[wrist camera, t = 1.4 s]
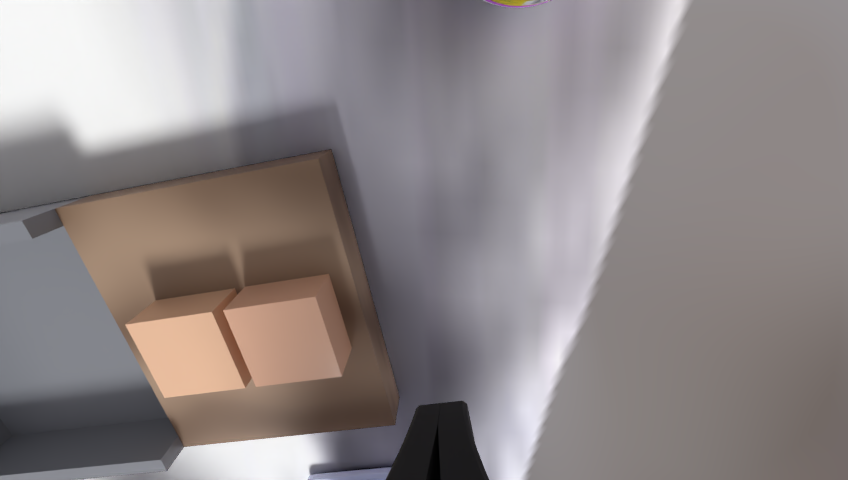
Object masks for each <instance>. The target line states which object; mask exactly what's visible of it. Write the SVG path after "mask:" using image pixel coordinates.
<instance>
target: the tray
mask: <svg viewBox="0 0 848 480" xmlns="http://www.w3.org/2000/svg"><path fill="white" fill-rule="evenodd" d="M86 197H88V196H86ZM86 197H81V198H76V199H70V200H65V201H60V202H55V203H50V204H44V205H39V206H34V207H29V208H24V209H18V210H13V211H8V212H3V213H0V480H77V479H88V478H98V477H109V476H119V475H129V474H140V473H150V472H161V471H167V470H168V469H169V467H170V466H171V465H172V463H173V462H174V460H175V459H176V457H177V456H178V455H179V453H180V452H181V450H182V449H183V447H184V446H183V444H182V442H181V440H180V439H179V437H178V435H177V433H176V431H175V429H174V428H173V426H172V424H171V422H170V420H169V418H168V417H167V415H166V413H165V411H164V409H163V407H162V406H161V404H160V402H159V400H158V398H157V396H156V395H155V393H154V391H153V389H152V387H151V385H150V383H149V382H148V380H147V378H146V376H145V374H144V372H143V371H142V369H141V367H140V365H139V363H138V361H137V360H136V358H135V356H134V354H133V352H132V350H131V349H130V347H129V345H128V343H127V341H126V339H125V338H124V336H123V334H122V332H121V330H120V328H119V327H118V325H117V323H116V321H115V319H114V317H113V316H112V314H111V312H110V310H109V308H108V306H107V305H106V303H105V301H104V299H103V297H102V295H101V294H100V292H99V290H98V288H97V286H96V284H95V283H94V281H93V279H92V277H91V275H90V273H89V271H88V270H87V268H86V266H85V264H84V262H83V260H82V259H81V257H80V255H79V253H78V251H77V249H76V248H75V246H74V244H73V242H72V240H71V238H70V237H69V235H68V233H67V231H66V229H65V227H64V226H63V224H62V222H61V220H60V218H59V216H58V215H57V213H56V211H55V208H58V207H61V206H63V205H66V204H69V203H72V202H74V201H77V200H80V199H83V198H86Z"/></svg>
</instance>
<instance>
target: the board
mask: <svg viewBox="0 0 848 480" xmlns="http://www.w3.org/2000/svg"><path fill="white" fill-rule="evenodd" d="M55 211H56V213H57V215H58V216H59V218H60V220H61V222H62V224H63V226H64V227H65V229H66V231H67V233H68V235H69V237H70V238H71V240H72V242H73V244H74V246H75V248H76V249H77V251H78V253H79V255H80V257H81V259H82V260H83V262H84V264H85V266H86V268H87V270H88V271H89V273H90V275H91V277H92V279H93V281H94V283H95V284H96V286H97V288H98V290H99V292H100V294H101V295H102V297H103V299H104V301H105V303H106V305H107V306H108V308H109V310H110V312H111V314H112V316H113V317H114V319H115V321H116V323H117V325H118V327H119V328H120V330H121V332H122V334H123V336H124V338H125V339H126V341H127V343H128V345H129V347H130V349H131V350H132V352H133V354H134V356H135V358H136V360H137V361H138V363H139V365H140V367H141V369H142V371H143V372H144V374H145V376H146V378H147V380H148V382H149V383H150V385H151V387H152V389H153V391H154V393H155V395H156V396H157V398H158V400H159V402H160V404H161V406H162V407H163V409H164V411H165V413H166V415H167V417H168V418H169V420H170V422H171V424H172V426H173V428H174V429H175V431H176V433H177V435H178V437H179V439H180V440H181V442H182V444H183V446H184V447H187V446H197V445H206V444H216V443H226V442H235V441H245V440H255V439H264V438H274V437H284V436H293V435H303V434H313V433H322V432H332V431H342V430H351V429H361V428H371V427H380V426H390V425H395V423H396V416H397V410H398V403H399V393H398V390H397V386H396V382H395V379H394V375H393V371H392V368H391V364H390V361H389V357H388V353H387V350H386V346H385V342H384V339H383V335H382V331H381V328H380V324H379V321H378V317H377V313H376V310H375V306H374V302H373V299H372V295H371V291H370V288H369V284H368V281H367V277H366V273H365V270H364V266H363V262H362V259H361V255H360V251H359V248H358V244H357V240H356V237H355V233H354V230H353V226H352V222H351V219H350V215H349V211H348V208H347V204H346V200H345V197H344V193H343V190H342V186H341V182H340V179H339V175H338V171H337V168H336V164H335V160H334V157H333V153H332V150H331V149H330V150H325V151H320V152H315V153H309V154H304V155H299V156H294V157H289V158H283V159H278V160H273V161H268V162H263V163H257V164H252V165H247V166H242V167H237V168H232V169H226V170H221V171H216V172H211V173H206V174H200V175H195V176H190V177H185V178H180V179H174V180H169V181H164V182H159V183H154V184H148V185H143V186H138V187H133V188H128V189H122V190H117V191H112V192H107V193H102V194H96V195H91V196H88V197H86V198H83V199H80V200H77V201H74V202H72V203H69V204H66V205H63V206H61V207H58V208H55ZM325 274H329V276H330V279H331V282H332V286H333V289H334V292H335V295H336V298H337V302H338V305H339V308H340V311H341V315H342V318H343V321H344V324H345V327H346V331H347V334H348V337H349V340H350V343H351V347H352V349H351V352H350V355H349V358H348V361H347V363H346V366H345V369H344V372H343V375H342V377H334V378H326V379H318V380H310V381H301V382H293V383H285V384H276V385H268V386H260V387H256V386H255V384H254V381H253V379H251V380H250V382H249V383H248V385H247V387H246V388H243V389H235V390H227V391H218V392H210V393H202V394H193V395H185V396H177V397H168V398H164V396H163V394H162V392H161V391H160V389H159V387H158V385H157V383H156V381H155V379H154V378H153V376H152V374H151V372H150V370H149V368H148V366H147V364H146V363H145V361H144V359H143V357H142V355H141V353H140V351H139V350H138V348H137V346H136V344H135V342H134V340H133V338H132V337H131V335H130V333H129V331H128V329H127V327H126V325H125V324H127V323H128V322H129V321H130V320H132V319H133V318H134V317H135V316H137V315H138V314H139V313H140V312H142V311H143V310H144V309H145V308H147V307H148V306H149V305H150V304H152V303H153V302H154V301H156V300H162V299H168V298H175V297H181V296H188V295H194V294H201V293H207V292H214V291H220V290H227V289H233V288H235V290H236V293H237V295H238V294H239V293H240V291H241V290H242V289H243V288H244V287H246V286H253V285H259V284H266V283H273V282H279V281H286V280H292V279H299V278H305V277H312V276H318V275H325Z"/></svg>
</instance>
